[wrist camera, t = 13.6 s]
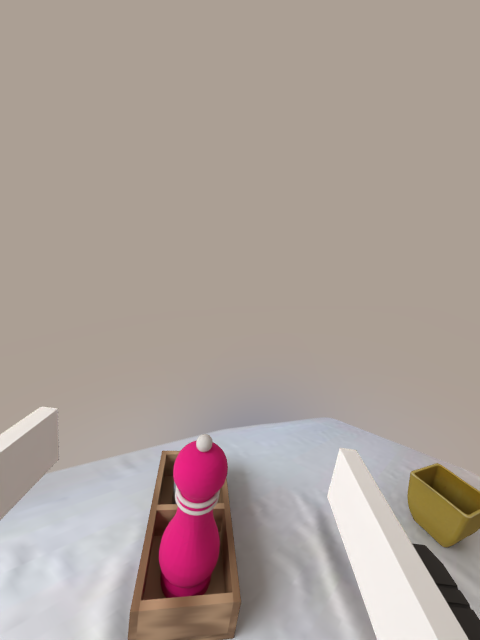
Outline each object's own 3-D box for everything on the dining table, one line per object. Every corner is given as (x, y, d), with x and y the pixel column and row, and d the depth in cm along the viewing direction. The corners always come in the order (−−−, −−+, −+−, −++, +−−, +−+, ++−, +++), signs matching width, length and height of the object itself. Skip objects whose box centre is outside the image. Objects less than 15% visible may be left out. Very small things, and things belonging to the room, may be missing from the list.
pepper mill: (142, 582, 30) (156, 437, 26) (184, 532, 36) (200, 408, 32) (188, 632, 27) (211, 474, 22) (225, 567, 33) (249, 434, 28)
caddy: (219, 476, 48) (223, 451, 46) (233, 638, 27) (241, 601, 26) (159, 476, 46) (162, 450, 44) (126, 651, 25) (129, 612, 24)
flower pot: (395, 511, 46) (409, 470, 44) (424, 500, 50) (438, 461, 48) (449, 565, 38) (469, 518, 36) (478, 547, 42) (498, 503, 40)
